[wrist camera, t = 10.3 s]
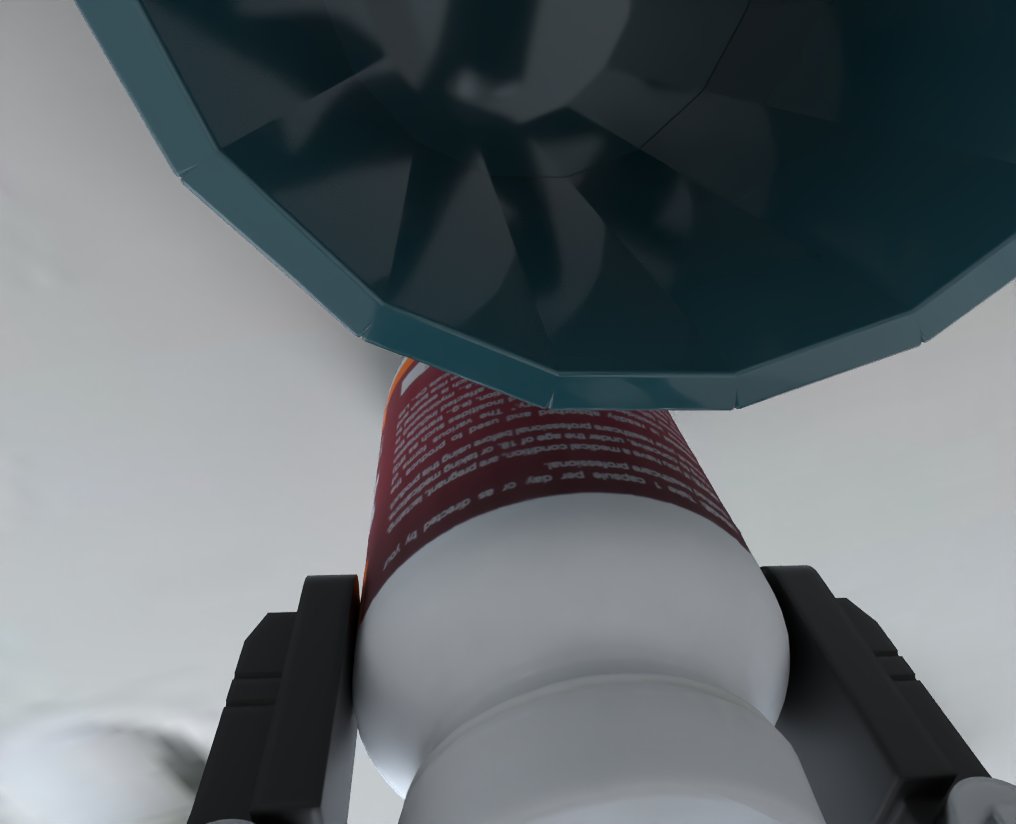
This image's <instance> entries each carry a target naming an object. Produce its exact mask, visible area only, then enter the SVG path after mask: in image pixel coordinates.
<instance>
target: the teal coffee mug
mask: <svg viewBox="0 0 1016 824" xmlns="http://www.w3.org/2000/svg"><path fill="white" fill-rule="evenodd" d="M74 2H75V3H76V5H77V7H78V9H79V10H80V12H81V14H82V15H83V17H84V19H85V21H86V22H87V24H88V26H89V28H90V29H91V31H92V33H93V34H94V36H95V38H96V40H97V41H98V43H99V45H100V47H101V48H102V50H103V52H104V53H105V55H106V57H107V59H108V60H109V62H110V64H111V65H112V67H113V69H114V71H115V72H116V74H117V76H118V78H119V79H120V81H121V83H122V84H123V86H124V88H125V90H126V91H127V93H128V95H129V97H130V98H131V100H132V102H133V103H134V105H135V107H136V109H137V110H138V112H139V114H140V115H141V117H142V119H143V121H144V122H145V124H146V126H147V128H148V129H149V131H150V133H151V134H152V136H153V138H154V140H155V141H156V143H157V145H158V147H159V148H160V150H161V152H162V153H163V155H164V157H165V159H166V160H167V162H168V164H169V165H170V167H171V169H172V171H173V172H174V174H175V175H176V176H178V177H181V182H182V183H183V185H184V186H185V187H187V188H188V189H189V190H190V191H191V192H192V193H193V194H195V195H196V196H197V197H198V198H199V199H200V200H201V201H203V202H204V203H205V204H206V205H207V206H208V207H209V208H211V209H212V210H213V211H214V212H215V213H216V214H217V215H219V216H220V217H221V218H222V219H223V220H224V221H225V222H227V223H228V224H229V225H230V226H231V227H232V228H233V229H234V230H236V231H237V232H238V233H239V234H240V235H241V236H242V237H244V238H245V239H246V240H247V241H248V242H249V243H250V244H252V245H253V246H254V247H255V248H256V249H257V250H258V251H260V252H261V253H262V254H263V255H264V256H265V257H266V258H268V259H269V260H270V261H271V262H272V263H273V264H274V265H276V266H277V267H278V268H279V269H280V270H281V271H282V272H284V273H285V274H286V275H287V276H288V277H289V278H290V279H292V280H293V281H294V282H295V283H296V284H297V285H298V286H300V287H301V288H302V289H303V290H304V291H305V292H306V293H308V294H309V295H310V296H311V297H312V298H313V299H314V300H316V301H317V302H318V303H319V304H320V305H321V306H322V307H323V308H325V309H326V310H327V311H328V312H329V313H330V314H331V315H333V316H334V317H335V318H336V319H337V320H338V321H339V322H341V323H342V324H343V325H344V326H345V327H346V328H347V329H349V330H350V331H351V332H352V333H353V334H354V335H356V336H358V337H361V336H362V339H363V340H364V341H366V342H368V343H371V344H374V345H376V346H379V347H382V348H384V349H387V350H390V351H392V352H395V353H397V354H400V355H403V356H405V357H408V358H411V359H413V360H416V361H418V362H421V363H424V364H426V365H429V366H432V367H434V368H437V369H440V370H442V371H445V372H447V373H450V374H453V375H455V376H458V377H461V378H463V379H466V380H469V381H471V382H474V383H476V384H479V385H482V386H484V387H487V388H490V389H492V390H495V391H498V392H500V393H503V394H505V395H508V396H511V397H513V398H516V399H519V400H521V401H524V402H527V403H529V404H532V405H534V406H537V407H540V408H542V409H546V408H547V407H548V409H549V410H733V409H734V408H736V409H741V408H744V407H746V406H749V405H752V404H755V403H758V402H761V401H764V400H767V399H769V398H772V397H775V396H778V395H781V394H784V393H787V392H789V391H792V390H795V389H798V388H801V387H804V386H807V385H810V384H812V383H815V382H818V381H821V380H824V379H827V378H830V377H832V376H835V375H838V374H841V373H844V372H847V371H850V370H853V369H855V368H858V367H861V366H864V365H867V364H870V363H873V362H875V361H878V360H881V359H884V358H887V357H890V356H893V355H896V354H898V353H901V352H904V351H907V350H910V349H913V348H916V347H918V346H920V345H921V343H922V342H923V343H925V342H928V341H930V340H931V339H932V338H934V337H935V336H936V335H938V334H939V333H941V332H942V331H943V330H945V329H946V328H947V327H949V326H950V325H952V324H953V323H954V322H956V321H957V320H959V319H960V318H961V317H963V316H964V315H965V314H967V313H968V312H970V311H971V310H972V309H974V308H975V307H977V306H978V305H979V304H981V303H982V302H983V301H985V300H986V299H988V298H989V297H990V296H992V295H993V294H994V293H996V292H997V291H999V290H1000V289H1001V288H1003V287H1004V286H1006V285H1007V284H1008V283H1010V282H1011V281H1012V280H1014V279H1015V278H1016V0H74Z"/></svg>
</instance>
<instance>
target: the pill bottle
mask: <svg viewBox="0 0 1016 824" xmlns="http://www.w3.org/2000/svg"><path fill="white" fill-rule="evenodd" d="M789 672H790V651H789V639H788V632H787V629H786V625H785V621H784V618H783V614H782V611H781V609H780V606H779V604H778V601H777V599H776V597H775V594H774V593H773V591H772V589H771V587H770V585H769V583H768V582H767V580H766V578H765V576H764V574H763V573H762V571H761V569H760V567H759V566H758V564H757V562H756V560H755V559H754V557H753V555H752V554H751V552H750V550H749V548H748V547H747V545H746V543H745V541H744V539H743V537H742V535H741V532H740V531H739V530H738V528H737V527H736V525H735V524H734V523H733V521H732V519H731V517H730V515H729V514H728V512H727V511H726V509H725V508H724V506H723V504H722V503H721V501H720V499H719V497H718V496H717V494H716V492H715V491H714V489H713V487H712V485H711V484H710V482H709V480H708V479H707V477H706V475H705V473H704V472H703V470H702V468H701V467H700V465H699V463H698V461H697V459H696V457H695V456H694V454H693V453H692V451H691V449H690V448H689V446H688V445H687V443H686V441H685V439H684V437H683V436H682V434H681V433H680V431H679V429H678V427H677V426H676V424H675V422H674V420H673V419H672V417H671V415H670V413H669V412H668V410H549V409H548V407H547V408H546V409H542V408H540V407H537V406H534V405H532V404H529V403H527V402H524V401H521V400H519V399H516V398H513V397H511V396H508V395H505V394H503V393H500V392H498V391H495V390H492V389H490V388H487V387H484V386H482V385H479V384H476V383H474V382H471V381H469V380H466V379H463V378H461V377H458V376H455V375H453V374H450V373H447V372H445V371H442V370H440V369H437V368H434V367H432V366H429V365H426V364H424V363H421V362H418V361H416V360H413V359H411V358H408V357H405V358H404V359H403V361H402V363H401V364H400V366H399V368H398V370H397V372H396V374H395V376H394V378H393V381H392V384H391V386H390V390H389V394H388V398H387V403H386V407H385V411H384V418H383V427H382V437H381V445H380V453H379V461H378V469H377V477H376V485H375V488H374V502H373V510H372V517H371V524H370V534H369V539H368V548H367V557H366V566H365V572H364V579H363V587H362V595H361V601H360V610H359V619H358V626H357V633H356V641H355V652H354V665H353V678H352V698H353V707H354V714H355V718H356V722H357V726H358V730H359V733H360V737H361V740H362V742H363V744H364V746H365V748H366V751H367V753H368V755H369V757H370V759H371V760H372V762H373V764H374V766H375V767H376V768H377V770H378V771H379V772H380V774H381V775H382V776H383V778H384V779H385V780H386V782H387V783H388V784H389V785H390V786H391V787H392V788H393V789H394V790H395V792H396V793H397V794H398V795H399V796H401V797H402V798H403V799H404V800H405V801H404V805H403V809H402V812H401V815H400V818H399V822H398V824H826V822H825V820H824V818H823V815H822V813H821V811H820V808H819V806H818V804H817V801H816V799H815V797H814V794H813V792H812V789H811V787H810V785H809V782H808V780H807V777H806V775H805V772H804V770H803V768H802V765H801V763H800V760H799V758H798V756H797V754H796V753H795V751H794V749H793V747H792V745H791V744H790V743H789V742H788V741H787V739H786V738H785V737H784V736H783V735H782V734H781V733H780V732H779V731H778V730H777V729H776V728H775V727H774V726H775V724H776V722H777V720H778V718H779V715H780V712H781V710H782V707H783V704H784V701H785V697H786V692H787V687H788V680H789Z"/></svg>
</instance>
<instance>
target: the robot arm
mask: <svg viewBox="0 0 1016 824" xmlns="http://www.w3.org/2000/svg"><path fill="white" fill-rule="evenodd" d="M760 569H761V571H762V573H763V574H764V576H765V578H766V580H767V582H768V583H769V585H770V587H771V589H772V591H773V593H774V594H775V597H776V599H777V601H778V604H779V606H780V609H781V611H782V614H783V618H784V621H785V625H786V629H787V632H788V639H789V651H790V672H789V680H788V687H787V692H786V697H785V701H784V704H783V707H782V710H781V712H780V715H779V718H778V720H777V722H776V724H775V726H774V727H775V728H776V729H777V730H778V731H779V732H780V733H781V734H782V735H783V736H784V737H785V738H786V739H787V741H788V742H789V743H790V744H791V745H792V747H793V749H794V751H795V753H796V754H797V756H798V758H799V760H800V763H801V765H802V768H803V770H804V772H805V775H806V777H807V780H808V782H809V785H810V787H811V789H812V792H813V794H814V797H815V799H816V801H817V804H818V806H819V808H820V811H821V813H822V815H823V818H824V820H825V822H826V824H1016V786H1015V785H1012V784H1010V783H1007V782H1005V781H1002V780H998V779H994V778H992V777H991V776H990V775H989V773H988V772H987V771H986V770H985V768H984V767H983V766H982V764H981V763H980V761H979V760H978V759H977V757H976V756H975V755H974V753H973V752H972V751H971V749H970V748H969V747H968V745H967V744H966V742H965V741H964V740H963V738H962V737H961V736H960V734H959V733H958V732H957V730H956V729H955V728H954V726H953V725H952V723H951V722H950V721H949V719H948V718H947V717H946V715H945V714H944V713H943V711H942V710H941V708H940V707H939V706H938V704H937V703H936V702H935V700H934V699H933V698H932V696H931V695H930V694H929V692H928V691H927V689H926V688H925V687H924V685H923V684H922V683H921V681H920V680H918V681H917V680H916V678H915V673H914V672H913V670H912V669H911V668H910V666H909V665H908V664H907V662H906V661H905V660H904V658H903V657H902V656H898V650H897V649H896V647H895V646H894V645H893V643H892V642H891V641H890V639H889V638H888V637H887V635H886V634H885V632H884V631H883V630H882V628H881V627H880V626H879V624H878V623H877V622H876V621H875V620H874V619H872V618H871V617H870V616H869V615H867V614H866V613H865V612H863V611H862V610H861V609H860V608H858V607H857V606H856V605H855V604H853V603H852V602H851V601H850V600H848V599H847V598H835V597H834V595H833V594H832V593H831V591H830V590H829V588H828V587H827V585H826V584H825V582H824V581H823V580H822V578H821V577H820V575H819V574H818V573H817V571H816V570H815V569H814V568H812V567H811V566H807V565H800V566H763V567H760ZM359 610H360V595H359V582H358V576H357V575H316V576H307V577H306V579H305V581H304V585H303V589H302V593H301V598H300V602H299V606H298V610H297V612H281V613H268V614H267V615H266V616H265V617H264V618H263V620H262V621H261V622H260V623H259V624H258V626H257V627H256V628H255V629H254V630H253V632H252V633H251V634H250V635H249V636H248V638H247V639H246V640H245V641H244V645H243V648H242V651H241V654H240V657H239V661H238V664H237V667H236V670H235V678H234V680H232V683H231V686H230V689H229V693H228V696H227V699H226V707H224V709H223V712H222V715H221V718H220V722H219V725H218V728H217V731H216V734H215V738H214V741H213V744H212V747H211V750H210V754H209V757H208V760H207V763H206V766H205V770H204V773H203V776H202V779H201V782H200V786H199V789H198V792H197V795H196V798H195V802H194V805H193V808H192V811H191V814H190V816H189V819H188V822H187V824H347V818H348V809H349V800H350V791H351V782H352V773H353V765H354V756H355V747H356V738H357V729H358V726H357V722H356V718H355V714H354V707H353V698H352V678H353V665H354V652H355V641H356V633H357V626H358V619H359Z"/></svg>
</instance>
